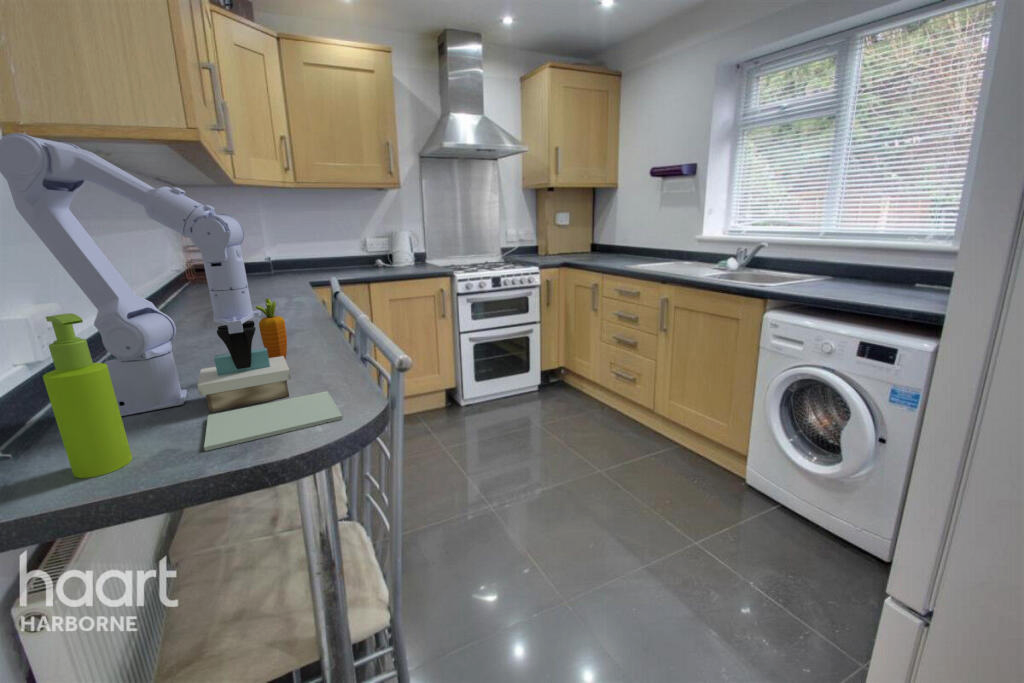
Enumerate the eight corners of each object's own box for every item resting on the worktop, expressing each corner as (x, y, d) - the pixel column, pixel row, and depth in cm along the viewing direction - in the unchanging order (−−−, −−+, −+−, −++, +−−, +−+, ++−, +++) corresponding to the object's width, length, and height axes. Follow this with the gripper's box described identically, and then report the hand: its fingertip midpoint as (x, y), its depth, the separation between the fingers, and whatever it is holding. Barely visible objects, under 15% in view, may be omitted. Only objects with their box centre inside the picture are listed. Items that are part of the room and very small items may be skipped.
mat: (204, 451, 64) (204, 447, 63) (208, 418, 74) (208, 415, 74) (342, 419, 72) (342, 415, 72) (328, 394, 83) (327, 391, 83)
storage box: (209, 412, 77) (205, 395, 76) (211, 396, 85) (208, 380, 84) (289, 396, 83) (286, 380, 82) (284, 382, 90) (282, 367, 90)
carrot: (286, 373, 96) (273, 301, 92) (262, 374, 96) (248, 301, 92) (297, 366, 101) (286, 296, 97) (274, 366, 101) (262, 297, 97)
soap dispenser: (86, 485, 56) (36, 322, 51) (66, 471, 60) (17, 317, 55) (143, 463, 61) (103, 312, 56) (121, 451, 65) (81, 308, 60)
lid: (199, 396, 75) (193, 367, 74) (203, 378, 84) (197, 352, 83) (290, 379, 82) (286, 352, 80) (285, 364, 90) (281, 340, 89)
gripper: (257, 290, 75) (272, 371, 78) (254, 282, 87) (266, 352, 90) (205, 295, 71) (222, 380, 75) (209, 285, 83) (224, 359, 87)
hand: (243, 365), depth 82 cm, fingers closed on lid, 2 cm apart
